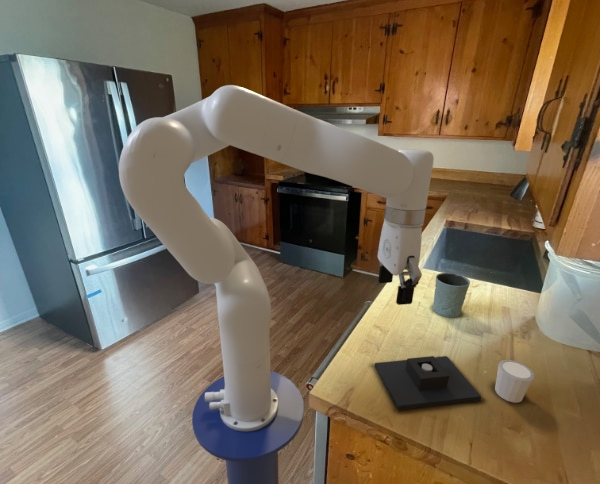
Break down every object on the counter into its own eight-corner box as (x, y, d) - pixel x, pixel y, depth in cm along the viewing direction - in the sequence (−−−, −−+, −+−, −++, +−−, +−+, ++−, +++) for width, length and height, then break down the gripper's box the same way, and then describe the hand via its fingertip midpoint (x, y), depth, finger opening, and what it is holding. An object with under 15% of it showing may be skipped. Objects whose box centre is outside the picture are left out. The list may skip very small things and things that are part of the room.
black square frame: (418, 390, 76) (421, 378, 74) (405, 369, 82) (407, 358, 81) (446, 387, 77) (449, 375, 75) (431, 367, 83) (433, 355, 82)
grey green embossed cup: (463, 307, 113) (470, 276, 108) (462, 322, 104) (470, 288, 100) (431, 300, 117) (437, 270, 112) (428, 314, 109) (434, 281, 104)
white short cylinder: (500, 378, 81) (507, 355, 79) (531, 396, 76) (540, 372, 73) (486, 390, 78) (493, 366, 75) (517, 409, 72) (525, 384, 70)
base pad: (397, 410, 72) (400, 393, 70) (374, 366, 85) (376, 351, 83) (480, 400, 75) (484, 384, 73) (446, 359, 88) (449, 345, 86)
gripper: (370, 205, 72) (364, 276, 78) (406, 228, 56) (394, 315, 63) (403, 205, 73) (393, 274, 80) (446, 227, 57) (430, 312, 64)
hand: (393, 292), depth 71 cm, fingers open, 9 cm apart
